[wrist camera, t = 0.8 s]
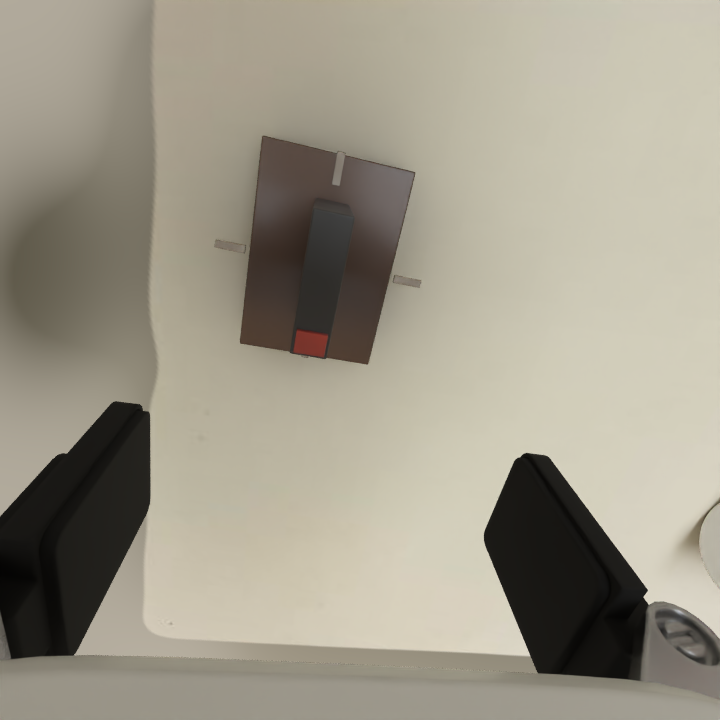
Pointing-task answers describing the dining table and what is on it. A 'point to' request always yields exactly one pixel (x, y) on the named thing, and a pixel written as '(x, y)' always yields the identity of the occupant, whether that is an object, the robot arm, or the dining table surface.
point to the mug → (711, 544)
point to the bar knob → (322, 277)
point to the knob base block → (290, 235)
